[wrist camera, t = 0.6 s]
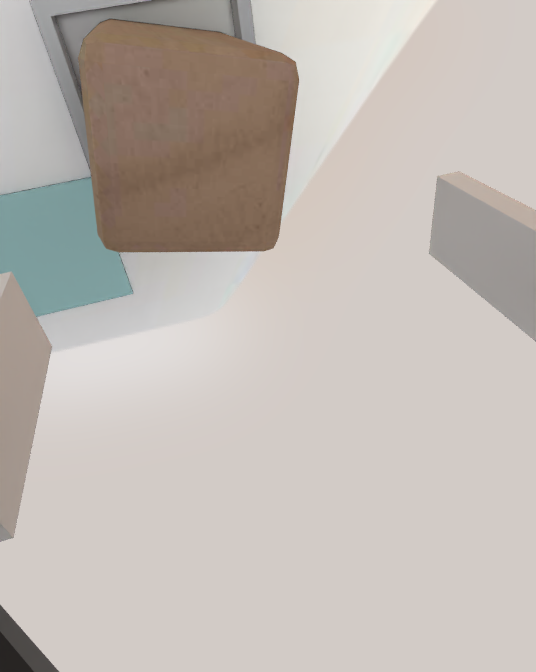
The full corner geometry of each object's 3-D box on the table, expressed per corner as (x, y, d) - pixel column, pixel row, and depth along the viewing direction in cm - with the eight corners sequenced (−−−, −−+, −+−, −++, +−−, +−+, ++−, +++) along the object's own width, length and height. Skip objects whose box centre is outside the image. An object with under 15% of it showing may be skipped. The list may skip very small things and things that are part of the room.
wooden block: (222, 162, 42) (281, 257, 26) (108, 157, 39) (98, 260, 24) (229, 32, 36) (308, 57, 21) (96, 16, 34) (72, 31, 18)
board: (13, 319, 46) (13, 322, 46) (-53, 205, 38) (-54, 207, 38) (132, 291, 47) (132, 293, 47) (91, 176, 40) (90, 178, 40)
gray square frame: (106, 203, 42) (105, 213, 40) (34, 0, 32) (29, 0, 30) (264, 169, 43) (271, 177, 41) (239, -31, 34) (246, -33, 32)
